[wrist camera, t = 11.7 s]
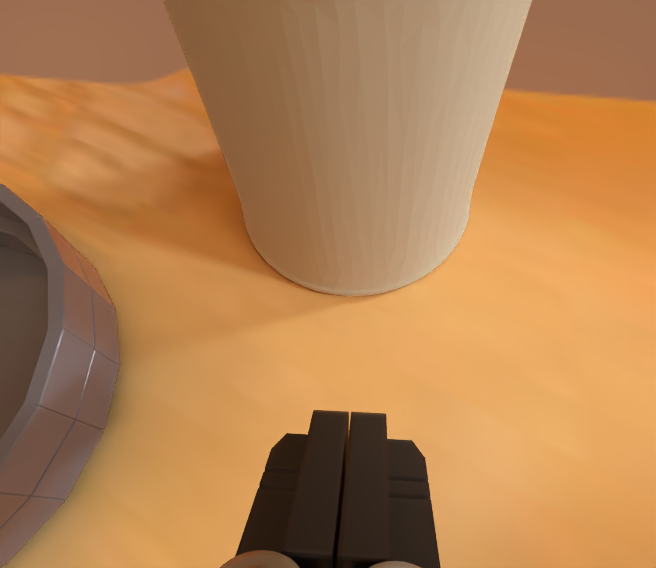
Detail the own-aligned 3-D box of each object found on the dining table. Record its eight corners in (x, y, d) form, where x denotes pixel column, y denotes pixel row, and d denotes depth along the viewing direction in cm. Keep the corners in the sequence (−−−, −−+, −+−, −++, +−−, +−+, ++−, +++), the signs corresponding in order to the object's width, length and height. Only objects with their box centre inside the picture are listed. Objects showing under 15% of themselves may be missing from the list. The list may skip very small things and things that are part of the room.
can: (401, 341, 17) (463, 9, 6) (198, 232, 19) (-5, -129, 9) (506, 161, 20) (665, -259, 9) (319, 89, 23) (279, -299, 12)
